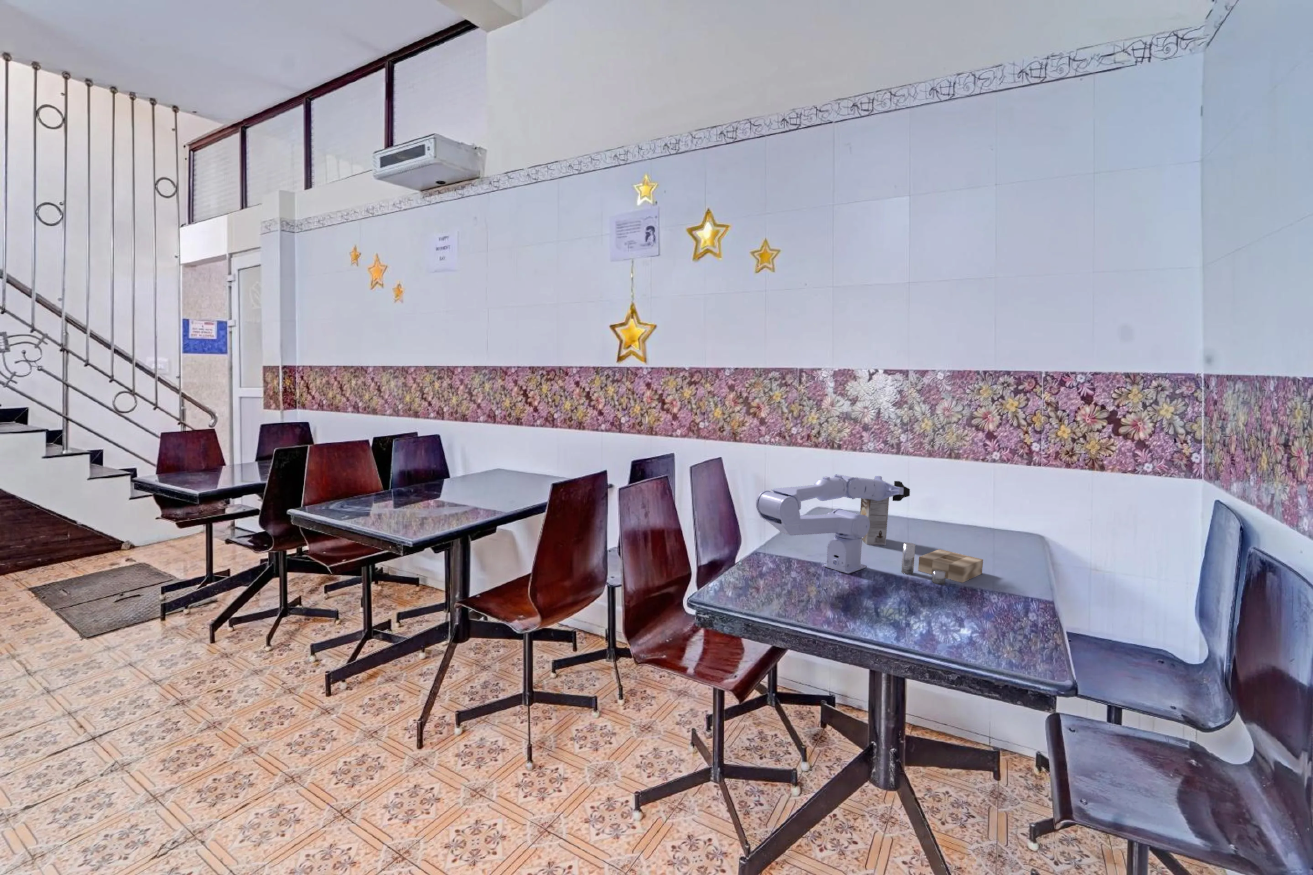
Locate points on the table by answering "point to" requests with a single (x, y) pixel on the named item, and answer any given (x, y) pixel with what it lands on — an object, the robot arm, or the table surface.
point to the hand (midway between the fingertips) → (897, 492)
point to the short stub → (938, 577)
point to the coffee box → (875, 520)
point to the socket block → (951, 565)
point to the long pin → (908, 558)
